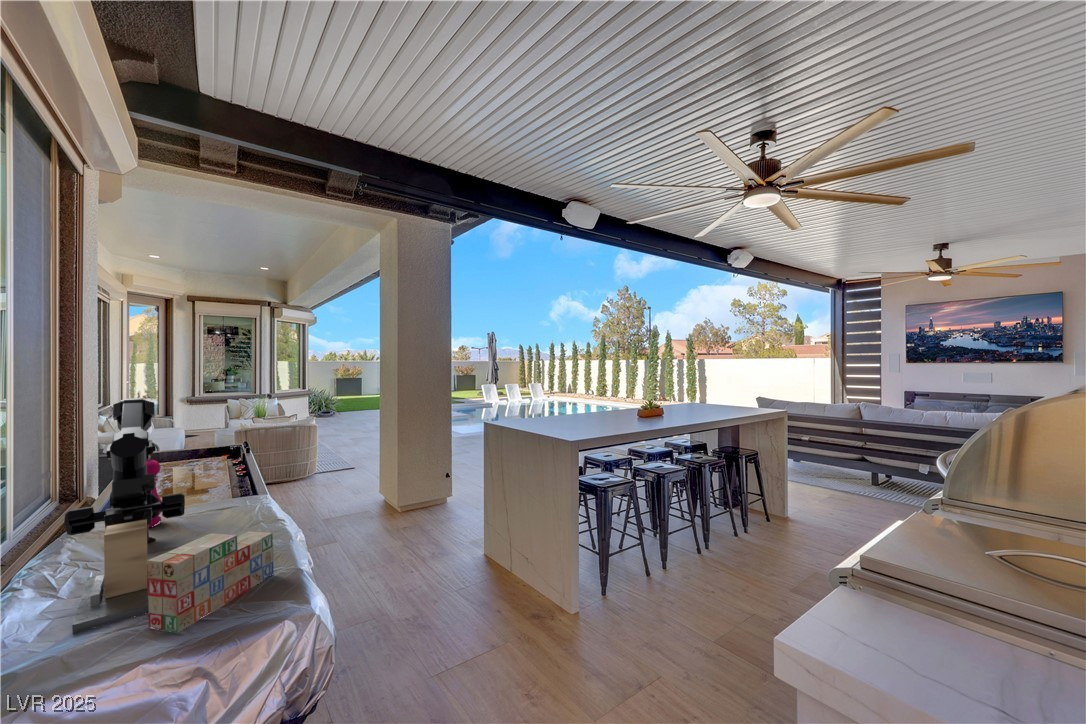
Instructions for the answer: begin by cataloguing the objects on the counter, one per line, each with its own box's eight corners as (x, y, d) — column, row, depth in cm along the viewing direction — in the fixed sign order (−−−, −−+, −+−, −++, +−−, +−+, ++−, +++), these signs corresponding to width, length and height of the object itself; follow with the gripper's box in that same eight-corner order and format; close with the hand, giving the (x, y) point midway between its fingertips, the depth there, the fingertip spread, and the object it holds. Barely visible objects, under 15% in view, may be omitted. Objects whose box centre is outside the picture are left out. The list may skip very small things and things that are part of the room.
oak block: (107, 586, 91) (106, 526, 90) (147, 577, 94) (146, 519, 94) (104, 598, 86) (104, 535, 86) (147, 588, 90) (146, 527, 90)
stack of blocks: (249, 573, 100) (248, 516, 100) (274, 575, 99) (273, 518, 98) (147, 630, 79) (146, 559, 79) (177, 634, 78) (176, 562, 78)
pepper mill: (143, 521, 131) (143, 452, 131) (169, 521, 132) (169, 451, 132) (121, 531, 124) (121, 457, 124) (149, 530, 124) (149, 456, 124)
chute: (87, 584, 94) (87, 568, 94) (169, 566, 103) (168, 550, 103) (72, 633, 78) (72, 613, 78) (171, 606, 86) (170, 588, 86)
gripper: (65, 470, 91) (56, 541, 83) (184, 456, 103) (186, 518, 95) (71, 500, 97) (63, 570, 89) (183, 484, 109) (185, 544, 101)
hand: (127, 549), depth 93 cm, fingers closed
